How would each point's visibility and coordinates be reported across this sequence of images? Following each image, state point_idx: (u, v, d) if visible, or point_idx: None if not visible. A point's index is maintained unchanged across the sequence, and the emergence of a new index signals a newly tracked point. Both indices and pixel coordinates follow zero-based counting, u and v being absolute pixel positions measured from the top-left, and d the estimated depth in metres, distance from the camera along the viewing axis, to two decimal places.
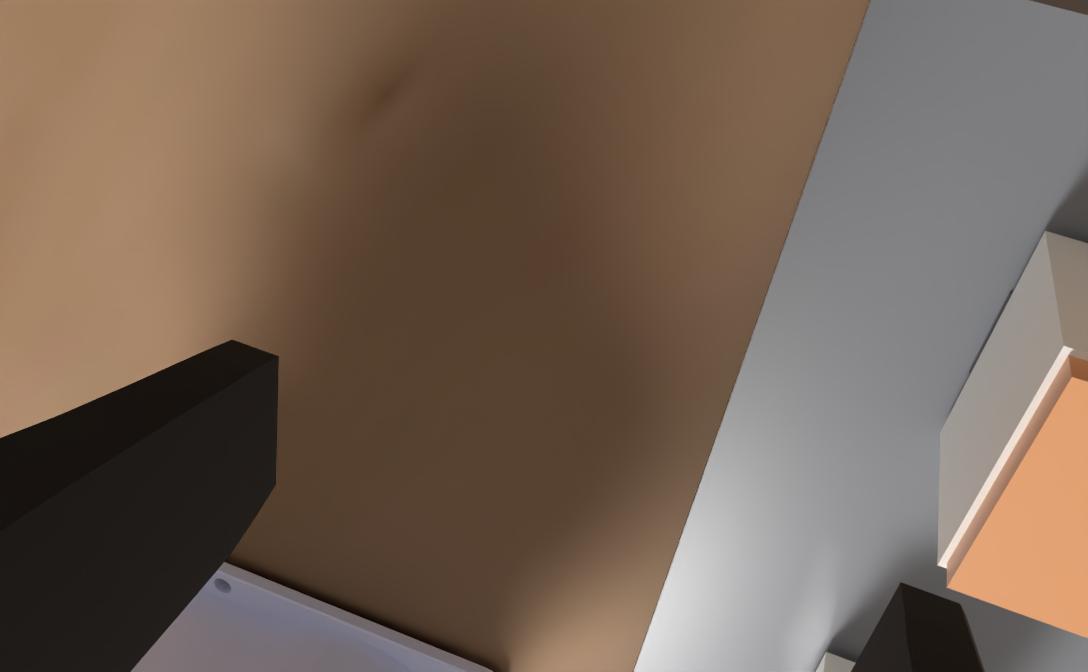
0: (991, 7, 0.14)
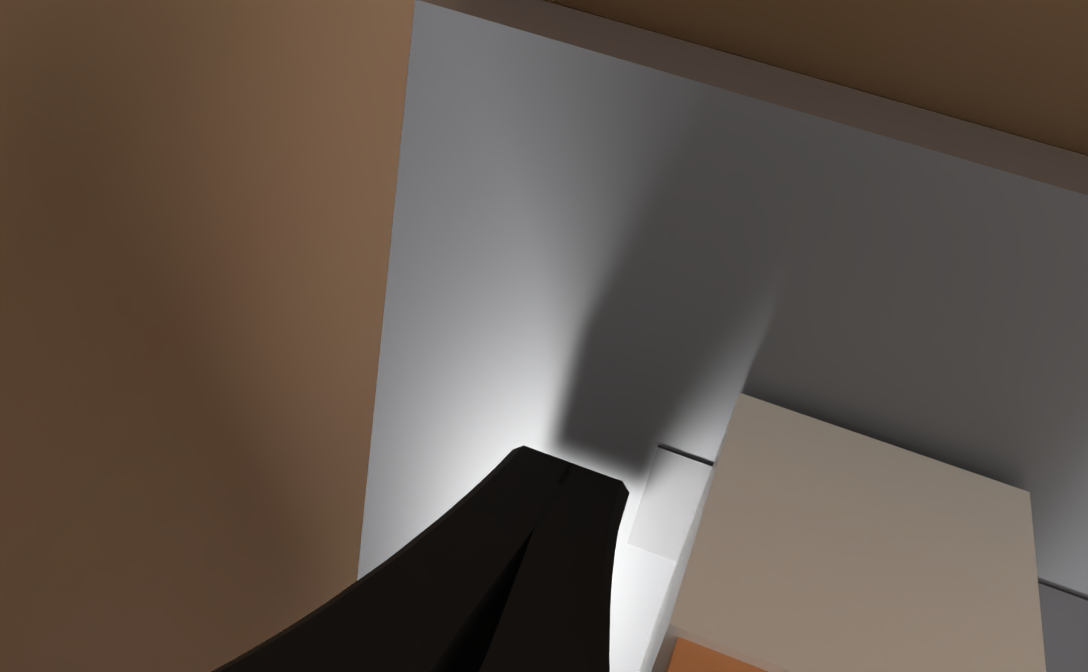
0: (562, 65, 0.10)
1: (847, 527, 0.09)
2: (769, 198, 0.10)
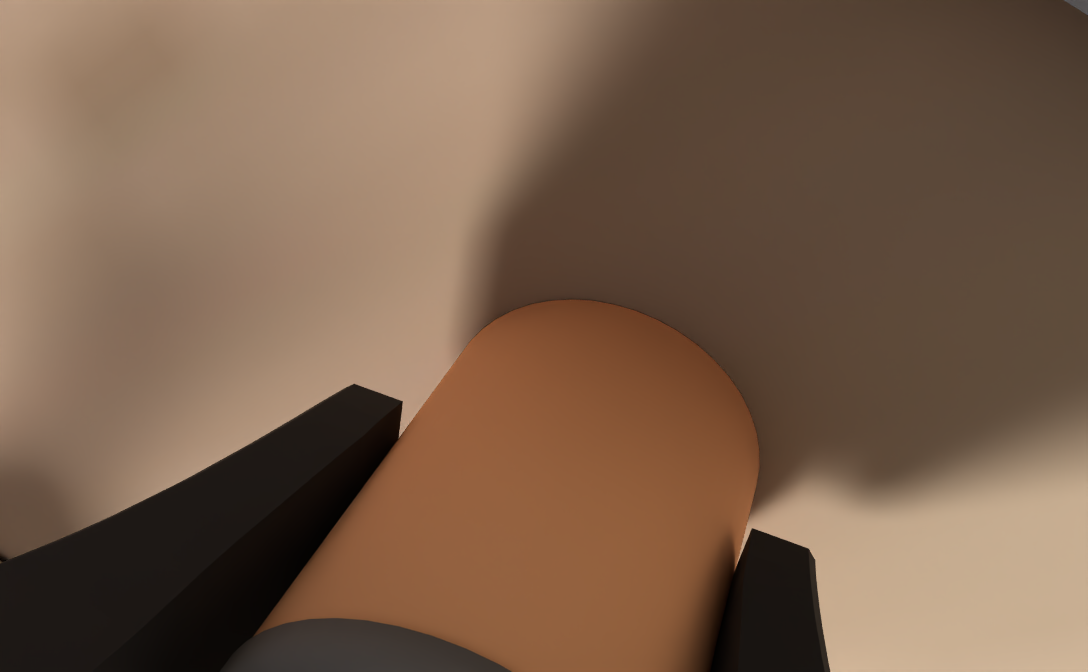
0: None
1: None
2: None
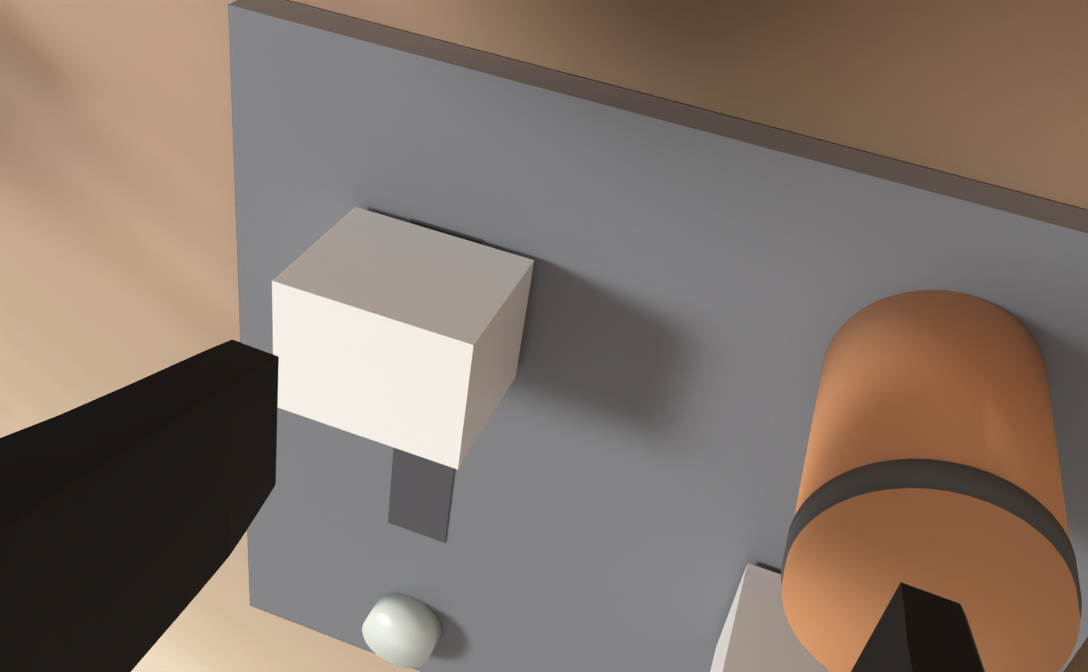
0: None
1: None
2: None
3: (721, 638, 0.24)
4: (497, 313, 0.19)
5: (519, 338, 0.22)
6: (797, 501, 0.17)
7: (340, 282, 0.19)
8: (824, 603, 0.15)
